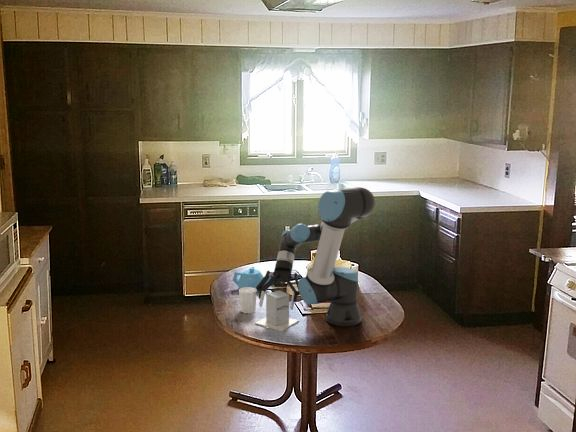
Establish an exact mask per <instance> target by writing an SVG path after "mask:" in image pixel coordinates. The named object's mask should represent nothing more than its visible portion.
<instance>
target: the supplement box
mask: <svg viewBox="0 0 576 432" xmlns="http://www.w3.org/2000/svg"><path fill="white" fill-rule="evenodd" d="M265 299H266V300H265V301H266V303H265V304H266V305H265V307H266V309H265V311H266V312H265V314H266V315H265V317H266V321H268V322H269V323H271V324H273V325H275V326H277V325H280V324H283V323H287V322H289V318H290V294H289V293H286V292H285V291H282V290H276V291H275V290H274V291H272V292H268V293H266V296H265Z"/></svg>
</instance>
